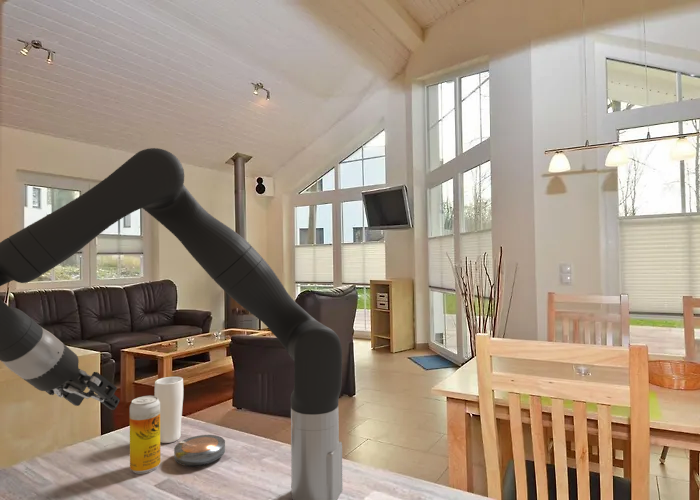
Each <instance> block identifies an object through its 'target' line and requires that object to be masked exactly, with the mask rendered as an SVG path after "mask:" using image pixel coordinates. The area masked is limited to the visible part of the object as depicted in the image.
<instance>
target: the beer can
mask: <svg viewBox="0 0 700 500" xmlns="http://www.w3.org/2000/svg"><path fill="white" fill-rule="evenodd" d="M160 464H161V442H160V401H159V400H158V397H157V396H155V395H143V396H139V397H136V398H134V399H132V400H131V403H130V405H129V468H130V470H131V471H132V472H133V473H135V474H137V475H138V474H139V475H140V474H141V475H142V474H147V473H150V472H153V471H155V470H157V468H158V466H159V465H160Z"/></svg>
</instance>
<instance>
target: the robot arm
mask: <svg viewBox="0 0 700 500" xmlns="http://www.w3.org/2000/svg"><path fill="white" fill-rule="evenodd" d="M184 183H185V170H184V167H183V164H182V163H181V161H180V159H179V158H177V156H176V155H175V154H173V153H172V152H170V151H168V150H166V149H163V148H157V147H152V148H145V149H142V150H139V151H137V153H135V154H134V155H132V156H131V157H130V158H129V159H127V160H126V161H125V162H124V163H123V164H121V165H120V166H119V167H117V169H115V170H114V171H113V172H112V173H110V174H109V175H108V176H107V177H105V178H104V179H102V180H101V181H100V182H99V183H97V184H95V185H94V186H93V187H92V188H90V189H89V190H87V191H86V192H84V193H83V194H81V195H79V196H78V197H76V198H75V199H73V200H72V201H70V202H68V203H66V204H65V205H63V206H61V207H60V208H58V209H56V210H54V211H52V212H51V213H49V214H47V215H46V216H44V217H42V218H40V219H37V220H36V221H34V222H32V223H31V224H29V225H28V226H25V227H24V228H22V229H20V230H19V231H17V232H15V233H13V234H11V235H9V237H6V238H5V239H3V240H2V241H0V287H1V286H4V285H6V284H7V283H10V282H13V281H14V282H16V283H20V284H26V283H30V282H33V281H34V280H36V279H38V278H39V277H41V276H42V275H44V274H46V273H48V272H50V270H53V269H54V268H55V267H58V266H59V265H60V264H61V263H63V262H65V261H67V259H69V258H71V257H72V256H74V255H75V254H77V253H78V252H79V251H80V250H81V249H83V248H85V247H86V246H87V245H88V244H89V243H90V242H92V241H93V240H94V239H95V238H96V237H98V236H100V234H101V233H103V232H105V231H106V230H107V229H108V228H109V227H111V226H112V225H114V224H115V223H117V222H119V221H120V220H122V219H124V218H125V217H126V216H129V215H130V214H132V213H134V212H136V211H139V210H140V209H143V210H144V211H145V212H147V214H149V216H152V217H153V218H154V220H156V221H157V222H159V224H160V225H163V227H165V228H166V229H167V230H168V231H169V232H170V233H171V234H172V235H174V236H175V238H176V239H177V240H178V241H179V242H180V243H181V245H182V246H183V247H184V248H185V250H187V251H188V253H189V254H190V255H191V257H192V258H194V260H195V261H196V263H198V264H199V266H201V268H202V269H203V270H204V271H205V272H206V273H207V275H209V277H210V278H211V279H212V280H213V281H214V282H215V283H216V284H217V286H219V287H220V288H221V289H222V291H224V292H225V294H227V295H228V296H229V297H230V298H232V299H233V300H234V301H235V302H236V303H237V304H238V305H240V306H241V307H242V308H244V309H245V310H246V311H247V312H248V313H250V314H251V315H253V316H254V317H255V318H257V320H259V321H261V322H262V323H263V324H264V325H265V326H266V327H267V328H268V329H269V330H270V331H271V333H272V334H273V335H274V336H275V338H276V339H277V340H278V341H279V343H280V344H281V345H282V347H283V348H284V349H285V350H286V352H287V353H288V355H289V356H290V358H291V360H292V361H293V366H294V367H293V368H294V369H293V372H294V375H293V376H294V377H293V381H294V382H293V383H294V384H293V390H292V392H291V394H290V453H291V455H290V458H291V459H290V463H291V465H290V470H291V475H290V476H291V478H290V479H291V482H290V483H291V484H290V488H291V500H338V498H339V497H340V495H341V494H342V491H343V443H342V441H341V440H340V439H339V437H340V436H339V435H340V434H339V431H340V430H339V423H340V421H339V419H340V418H339V417H340V416H339V397H340V395H341V391H342V384H343V381H342V380H343V378H342V377H343V349H342V348H343V347H342V343H341V339H340V337H339V335H338V334H337V332H336V331H334V330H333V329H331V328H330V327H328V326H326V325H325V324H323V323H321V322H320V321H318V320H317V319H316V318H314V317H313V316H312V315H310V314H309V312H307V311H306V310H305V309H304V308H303V307H301V305H299V304H298V303H297V302H296V301H295V300H294V299H293V298H292V296H291V295H290V294H289V293H288V291H287V290H286V288H285V287H284V285H283V283H282V282H281V280H280V279H279V277H278V276H277V274H276V273H275V271H274V270H273V269H272V267H271V266H270V265H269V264H268V262H267V261H266V260H265V259H264V258H263V256H261V255H260V254H259V252H258V251H257V250H256V249H255V248H254V247H253V246H252V245H251V244H250V243H249V242H248V241H247V240H246V239H245V238H244V237H243V236H241V235H240V234H239V233H237V232H236V231H235V230H234V229H232V228H231V227H229V226H228V225H226V224H225V223H223V222H221V221H220V220H218V219H217V218H216V217H214V216H213V215H211V214H210V213H209V212H208V211H207V210H205V208H204V207H203V206H202V205H201V204H200V203H199V202H198V200H197V199H196V198H195V197H194V196H193V194H191V192H190V191H189V190H188V188H187V187H186V186H185V184H184ZM0 361H1V362H2V363H3V364H4V366H5V367H6V368H7V369H9V370H10V371H11V372H13V373H14V374H15V375H17V376H18V377H20V378H21V379H22V380H24V381H26V382H27V383H28V384H30V385H31V386H32V387H34V388H35V389H36V390H39V391H41V392H45V393H47V394H48V395H50V396H54V395H56V396H57V397H58V398H64V399H65V400H66V401H67V402H69V403H71V404H72V405H73V406H76V407H77V406H78V407H79V406H81V404H82V402H83V401H84V399H87V400H88V399H90V398H92V399H94V400H96V401H99V402H100V403H101V404H103V405H104V406H105V407H106V408H107V409H109V410H110V411H111V410H112V411H115V409H116V408H117V407H118V405H119V403H120V398H119V397H118V396H117V395H116V394H115V393H116V391H117V389H118V387H117V386H115V385H114V384H113V383H112V382H110V381H109V380H108V379H107V378H105V377H104V376H103V375H102V374H100V373H99V372H98V371H94V372H92V374H91V375H90V374H88V373H87V372H86V371H85V370H83V369H81V368H79V364H80V363H79V362H80V361H79V357H78V355H77V354H76V353H75V352H74V351H73V350H72V349H71V348H69V346H67V345H66V344H65V343H63V342H62V341H61V340H60V339H59V338H58V337H56V336H55V335H54V334H53V333H52V332H50V331H48V330H47V329H45V328H43V327H42V326H41V325H40V324H38V323H37V322H36V321H35V320H34V319H33V318H32V317H30V316H29V315H28V314H26V313H25V312H24V311H22V310H21V309H19V308H17V307H12V306H9V305H8V304H7V303H5V301H3V300H2V299H1V298H0ZM86 389H87V390H88V391H87V392H86ZM339 440H340V441H339Z"/></svg>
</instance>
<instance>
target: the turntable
mask: <svg viewBox="0 0 700 500" xmlns="http://www.w3.org/2000/svg"><path fill="white" fill-rule="evenodd" d="M173 451H174V453H173V455H174V456H173V457H174V461H175V463H178V464H179V465H182V466H186V465H190V466H192V465H202V464H206V463H210V462H212V461H214V462H215V461H216V460H219V459H221V457H223V456H224V455H225V453H226V440H225V439H224V438H223V437H222V436H219V435H214V434H202V435H196V436H191V437H188V438H185V439H183V440H181V441H179V442H178V443H177V444H176V445H175V446H174V449H173ZM212 463H213V462H212ZM210 464H211V463H210ZM190 466H189V467H190Z"/></svg>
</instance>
